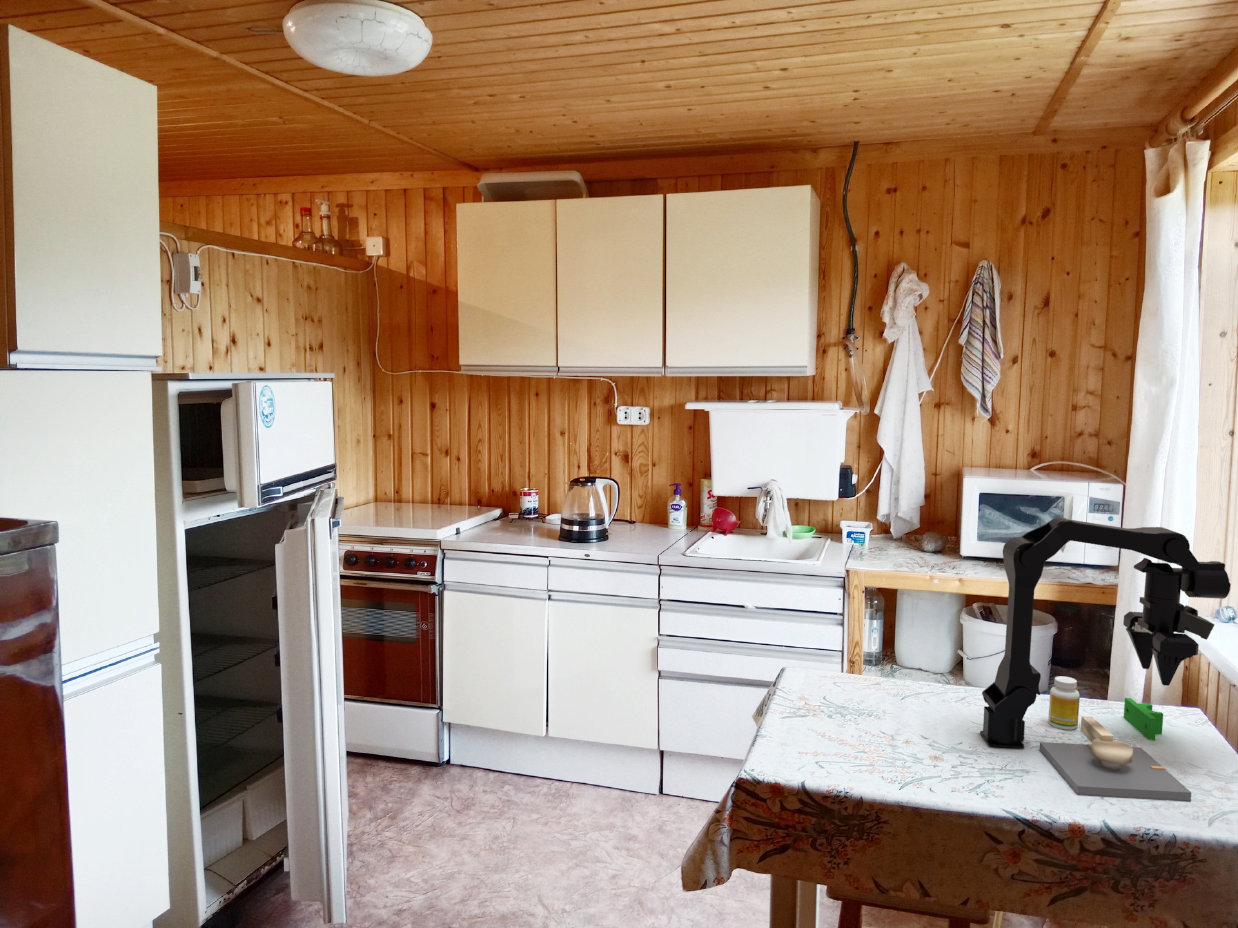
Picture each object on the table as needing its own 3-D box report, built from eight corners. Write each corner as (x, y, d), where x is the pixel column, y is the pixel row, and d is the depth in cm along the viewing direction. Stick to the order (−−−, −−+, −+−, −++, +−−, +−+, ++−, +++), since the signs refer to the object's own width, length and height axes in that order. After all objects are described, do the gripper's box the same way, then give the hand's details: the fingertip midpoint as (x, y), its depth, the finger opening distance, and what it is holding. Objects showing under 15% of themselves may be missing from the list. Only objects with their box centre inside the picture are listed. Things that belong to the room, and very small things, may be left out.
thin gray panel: (1077, 794, 148) (1078, 777, 148) (1039, 749, 166) (1040, 734, 166) (1190, 800, 146) (1192, 783, 146) (1140, 754, 164) (1141, 739, 164)
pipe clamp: (1169, 742, 171) (1171, 719, 170) (1148, 741, 171) (1150, 718, 170) (1142, 719, 182) (1144, 697, 181) (1123, 718, 182) (1124, 696, 182)
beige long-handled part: (1138, 765, 152) (1140, 748, 152) (1100, 763, 153) (1101, 746, 153) (1103, 732, 166) (1104, 717, 166) (1068, 730, 167) (1069, 715, 167)
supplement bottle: (1045, 718, 181) (1047, 673, 180) (1072, 720, 180) (1075, 675, 179) (1052, 729, 176) (1055, 682, 175) (1081, 731, 175) (1084, 684, 174)
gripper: (1234, 611, 153) (1226, 698, 154) (1187, 586, 171) (1181, 664, 173) (1164, 607, 155) (1157, 692, 157) (1125, 583, 173) (1119, 659, 175)
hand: (1155, 676), depth 165 cm, fingers open, 9 cm apart
